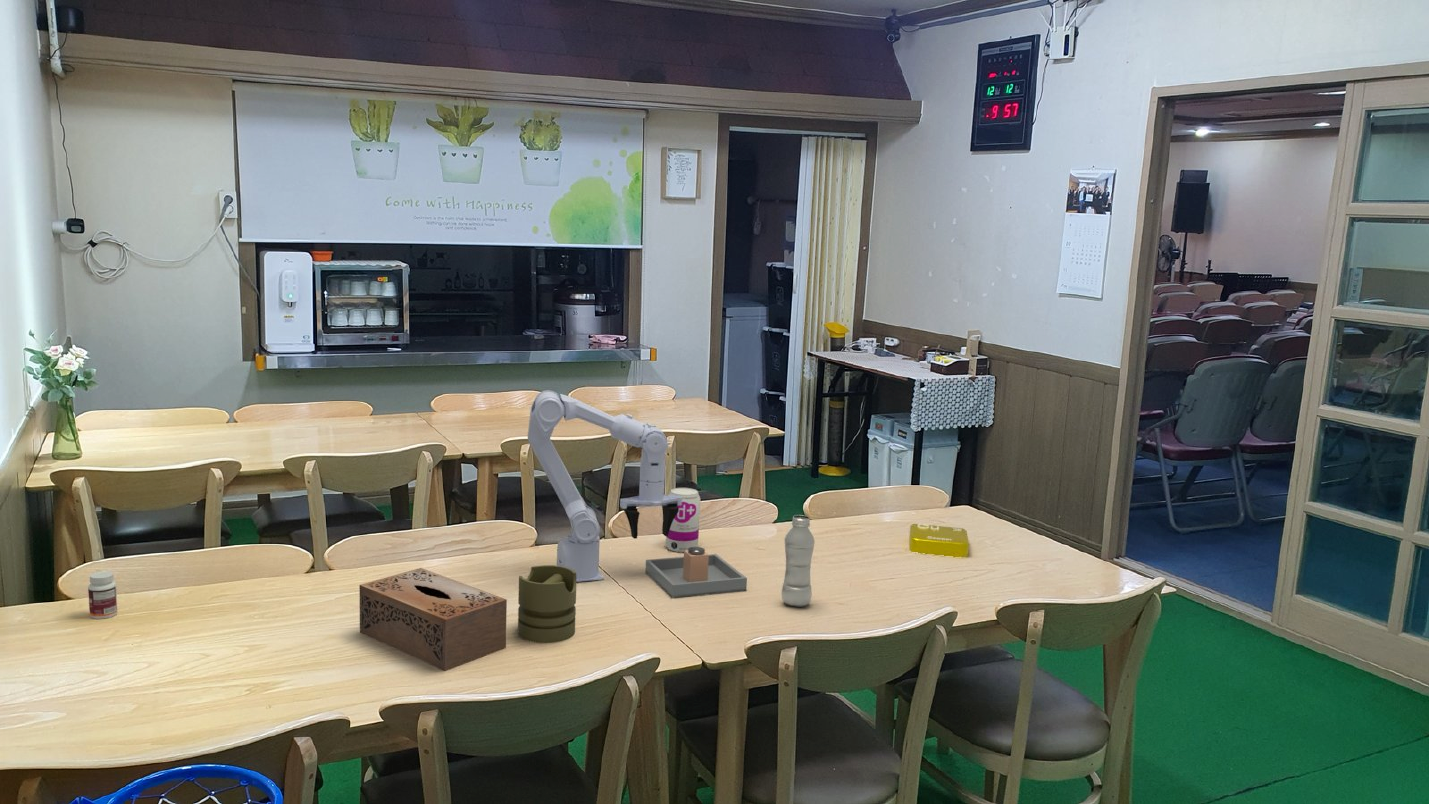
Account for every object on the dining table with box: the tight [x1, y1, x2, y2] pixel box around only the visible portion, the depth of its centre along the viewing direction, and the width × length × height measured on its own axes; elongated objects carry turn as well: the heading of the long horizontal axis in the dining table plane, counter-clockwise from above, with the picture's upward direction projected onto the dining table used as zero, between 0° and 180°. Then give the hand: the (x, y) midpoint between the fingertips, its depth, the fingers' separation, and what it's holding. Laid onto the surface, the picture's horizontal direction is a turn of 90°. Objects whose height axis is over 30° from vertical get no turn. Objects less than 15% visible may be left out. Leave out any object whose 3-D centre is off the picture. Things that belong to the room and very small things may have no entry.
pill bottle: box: [87, 570, 118, 620], centre depth 206 cm, size 5×5×8 cm
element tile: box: [908, 523, 970, 558], centre depth 279 cm, size 15×15×5 cm
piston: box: [517, 564, 577, 644], centre depth 209 cm, size 11×12×11 cm
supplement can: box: [665, 487, 701, 553], centre depth 266 cm, size 8×8×15 cm
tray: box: [645, 553, 748, 599], centre depth 243 cm, size 18×18×3 cm
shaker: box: [683, 546, 710, 582], centre depth 243 cm, size 4×4×7 cm
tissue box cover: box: [359, 567, 508, 672], centre depth 202 cm, size 26×14×10 cm, turn 53°
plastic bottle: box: [781, 514, 816, 608], centre depth 230 cm, size 6×7×20 cm
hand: (649, 536), depth 245 cm, fingers open, 7 cm apart
